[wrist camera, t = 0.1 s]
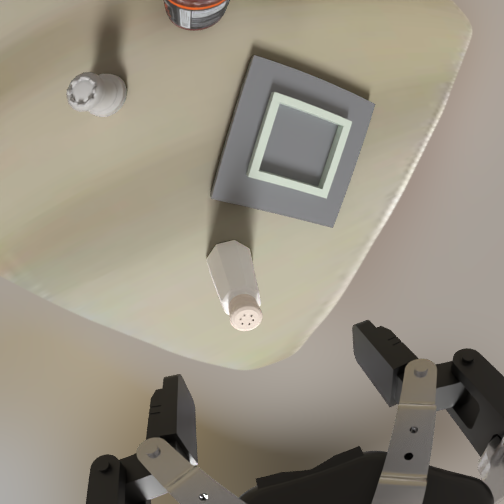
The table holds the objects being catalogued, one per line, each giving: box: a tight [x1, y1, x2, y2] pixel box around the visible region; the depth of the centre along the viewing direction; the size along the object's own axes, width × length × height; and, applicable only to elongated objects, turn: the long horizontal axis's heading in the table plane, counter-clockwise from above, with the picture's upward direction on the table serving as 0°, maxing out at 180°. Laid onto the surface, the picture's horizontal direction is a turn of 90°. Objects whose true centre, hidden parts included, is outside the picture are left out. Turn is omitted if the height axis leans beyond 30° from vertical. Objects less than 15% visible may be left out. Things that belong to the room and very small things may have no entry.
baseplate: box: [210, 55, 375, 228], centre depth 30 cm, size 15×14×3 cm
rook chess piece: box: [67, 72, 127, 117], centre depth 22 cm, size 4×4×8 cm
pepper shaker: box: [206, 240, 263, 331], centre depth 31 cm, size 5×5×11 cm
